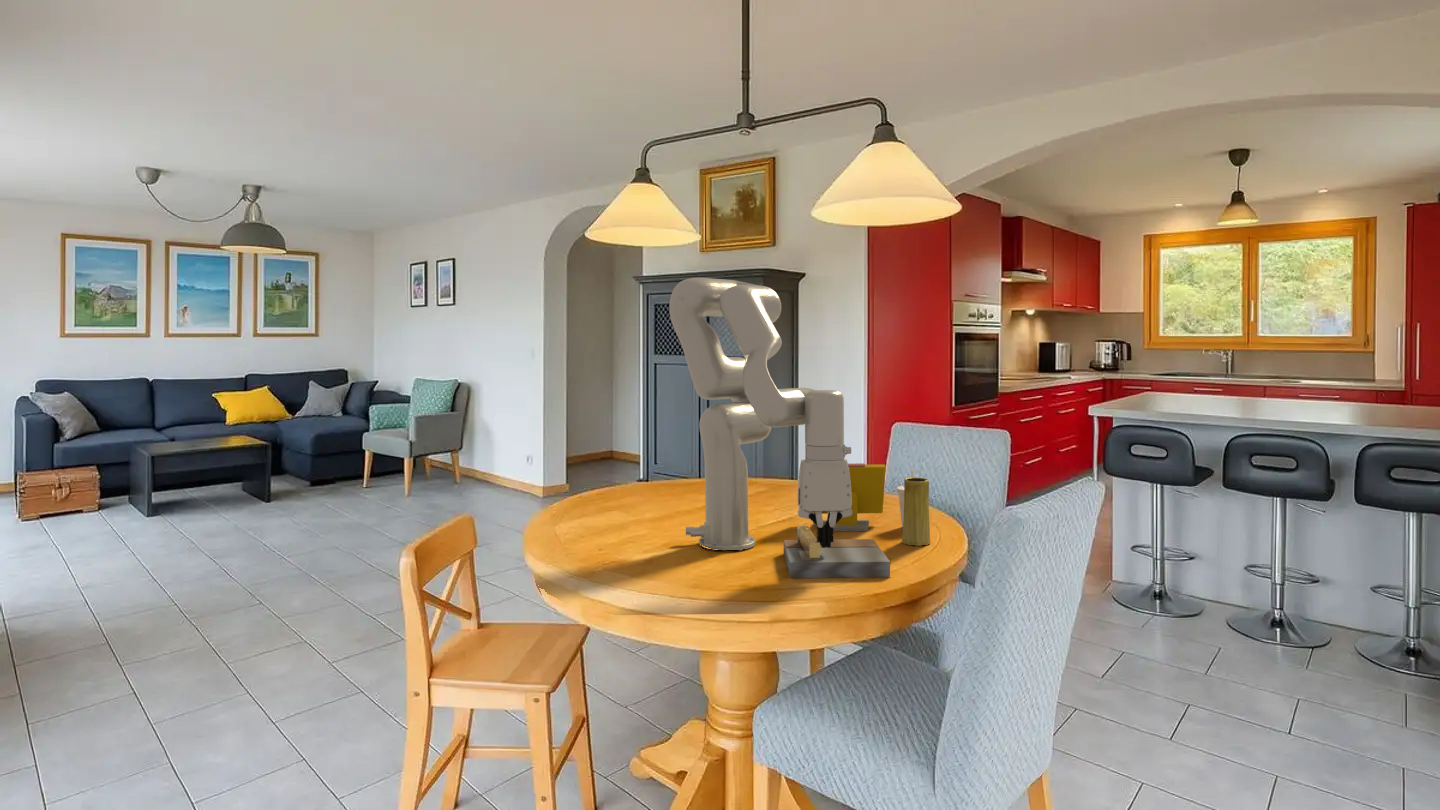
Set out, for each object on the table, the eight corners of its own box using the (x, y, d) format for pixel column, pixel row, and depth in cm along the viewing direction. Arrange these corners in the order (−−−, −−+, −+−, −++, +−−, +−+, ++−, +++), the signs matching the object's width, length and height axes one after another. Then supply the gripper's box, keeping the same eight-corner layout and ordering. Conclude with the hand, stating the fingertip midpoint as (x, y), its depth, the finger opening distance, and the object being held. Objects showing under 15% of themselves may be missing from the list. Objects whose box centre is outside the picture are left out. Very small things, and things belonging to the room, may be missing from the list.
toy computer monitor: (881, 523, 190) (881, 460, 189) (887, 531, 182) (887, 465, 181) (800, 524, 191) (800, 461, 190) (802, 531, 183) (802, 466, 182)
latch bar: (796, 540, 162) (796, 526, 162) (808, 539, 162) (808, 525, 162) (808, 558, 148) (807, 542, 148) (821, 557, 148) (821, 542, 148)
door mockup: (790, 578, 147) (790, 562, 147) (783, 553, 164) (783, 539, 164) (890, 577, 147) (890, 561, 146) (873, 553, 164) (873, 538, 163)
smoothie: (908, 532, 181) (909, 473, 180) (890, 526, 187) (891, 469, 186) (929, 528, 184) (930, 470, 183) (911, 523, 190) (911, 467, 189)
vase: (931, 547, 168) (931, 482, 167) (902, 545, 169) (902, 481, 168) (929, 539, 174) (929, 477, 173) (901, 538, 175) (901, 476, 174)
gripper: (857, 450, 155) (857, 540, 156) (783, 452, 154) (784, 542, 155) (867, 455, 147) (867, 549, 149) (789, 457, 146) (790, 552, 148)
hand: (825, 545), depth 152 cm, fingers closed
